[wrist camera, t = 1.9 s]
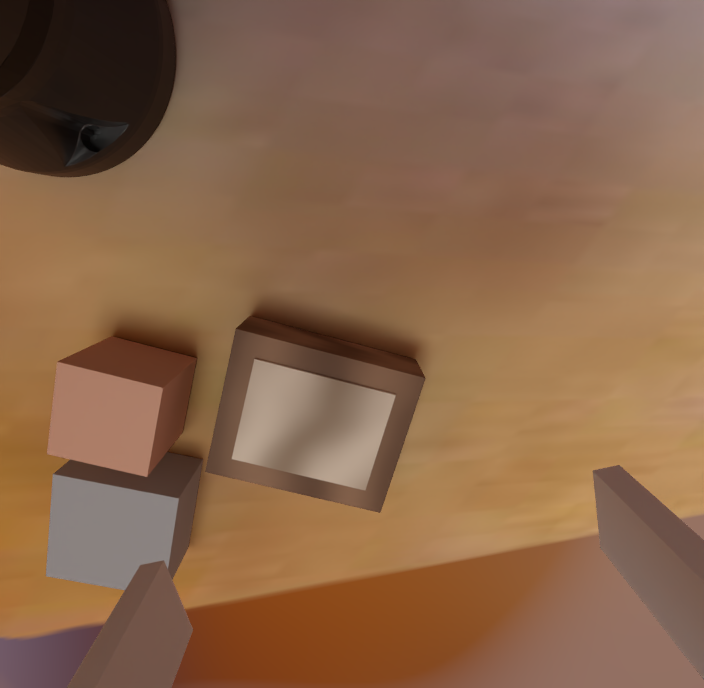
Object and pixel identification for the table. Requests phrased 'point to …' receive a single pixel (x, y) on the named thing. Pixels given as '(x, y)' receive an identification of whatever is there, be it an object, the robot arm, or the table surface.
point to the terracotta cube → (120, 405)
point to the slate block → (120, 520)
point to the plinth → (313, 414)
